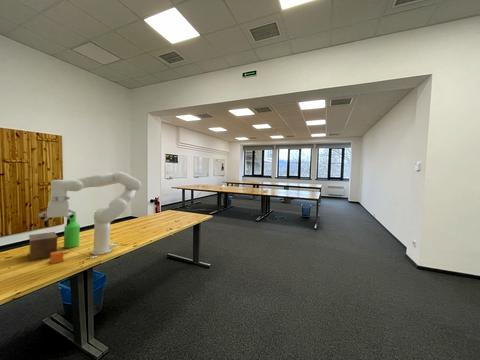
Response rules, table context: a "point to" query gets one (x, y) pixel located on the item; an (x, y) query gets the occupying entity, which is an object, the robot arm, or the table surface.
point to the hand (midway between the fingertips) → (57, 226)
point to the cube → (56, 257)
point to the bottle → (71, 233)
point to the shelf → (42, 245)
